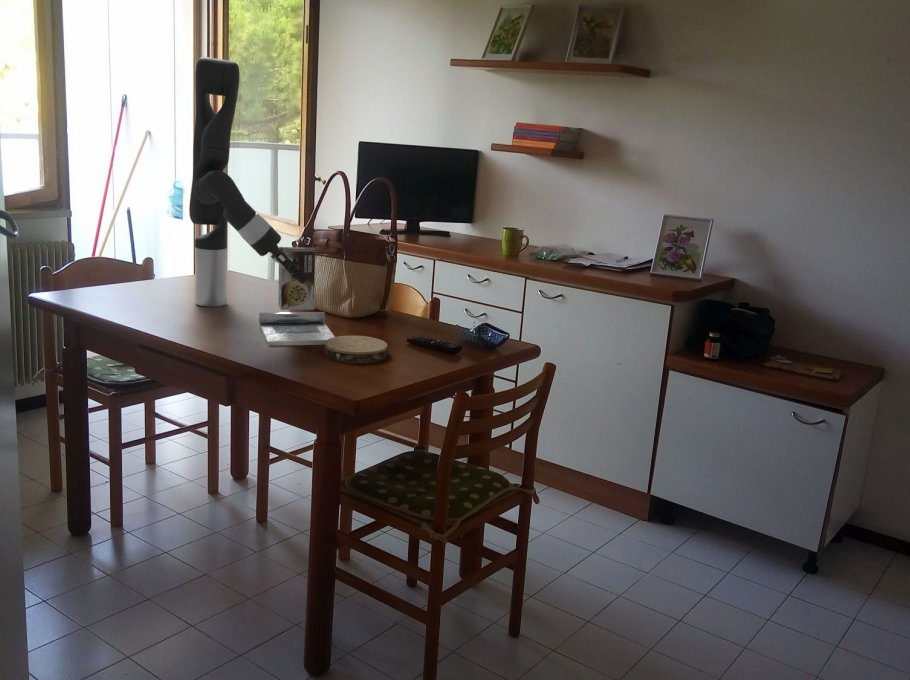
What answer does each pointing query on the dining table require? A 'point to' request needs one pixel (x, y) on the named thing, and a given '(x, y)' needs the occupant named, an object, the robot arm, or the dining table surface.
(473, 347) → the dining table surface
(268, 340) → the hinge plate
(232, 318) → the dining table surface
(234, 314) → the dining table surface
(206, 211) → the robot arm
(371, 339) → the beige tambourine
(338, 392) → the dining table surface
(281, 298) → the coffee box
